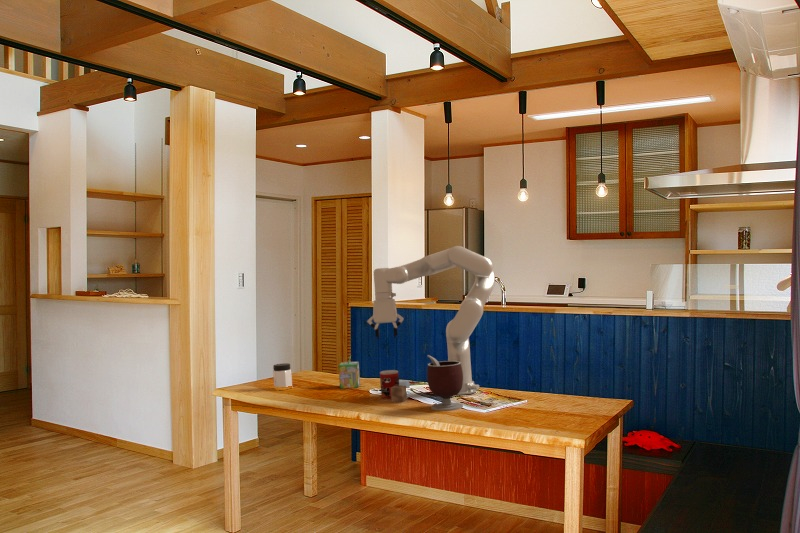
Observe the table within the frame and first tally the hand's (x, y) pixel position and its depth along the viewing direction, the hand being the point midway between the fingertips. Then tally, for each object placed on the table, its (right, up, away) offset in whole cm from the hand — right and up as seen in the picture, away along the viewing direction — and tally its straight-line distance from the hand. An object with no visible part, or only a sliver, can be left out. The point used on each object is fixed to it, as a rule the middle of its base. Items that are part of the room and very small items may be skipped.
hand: (386, 337), depth 289 cm
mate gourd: (+24, -24, -29) cm, 44 cm away
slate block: (+6, -26, +10) cm, 28 cm away
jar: (-51, -30, +39) cm, 71 cm away
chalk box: (-18, -27, +32) cm, 46 cm away
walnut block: (+6, -25, -10) cm, 28 cm away
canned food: (+2, -26, 0) cm, 26 cm away
